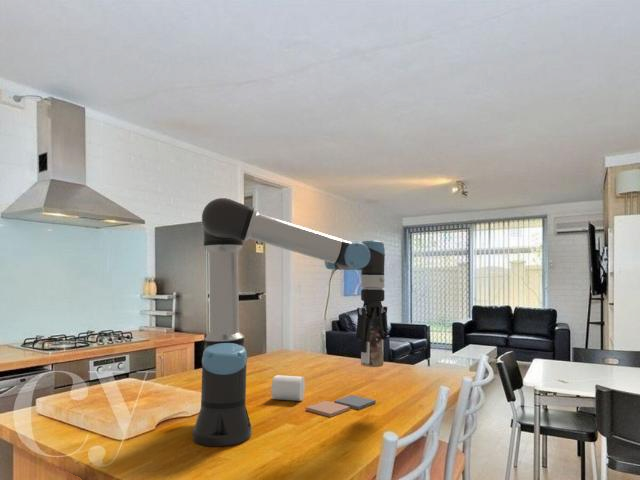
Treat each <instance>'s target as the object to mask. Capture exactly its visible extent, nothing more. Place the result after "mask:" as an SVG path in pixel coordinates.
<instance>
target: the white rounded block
mask: <svg viewBox="0 0 640 480" xmlns="http://www.w3.org/2000/svg"><path fill="white" fill-rule="evenodd" d="M305 389H306V381H305V378H304V376H297V375H296V376H295V375H294V376H293V375H278V374H277V375H274V377H273V378H272V382H271V389H270V390H271V397H272V399H273V400H280V401H281V400H282V401H293V402H301V401H303V400H304V396H305Z"/></svg>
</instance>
